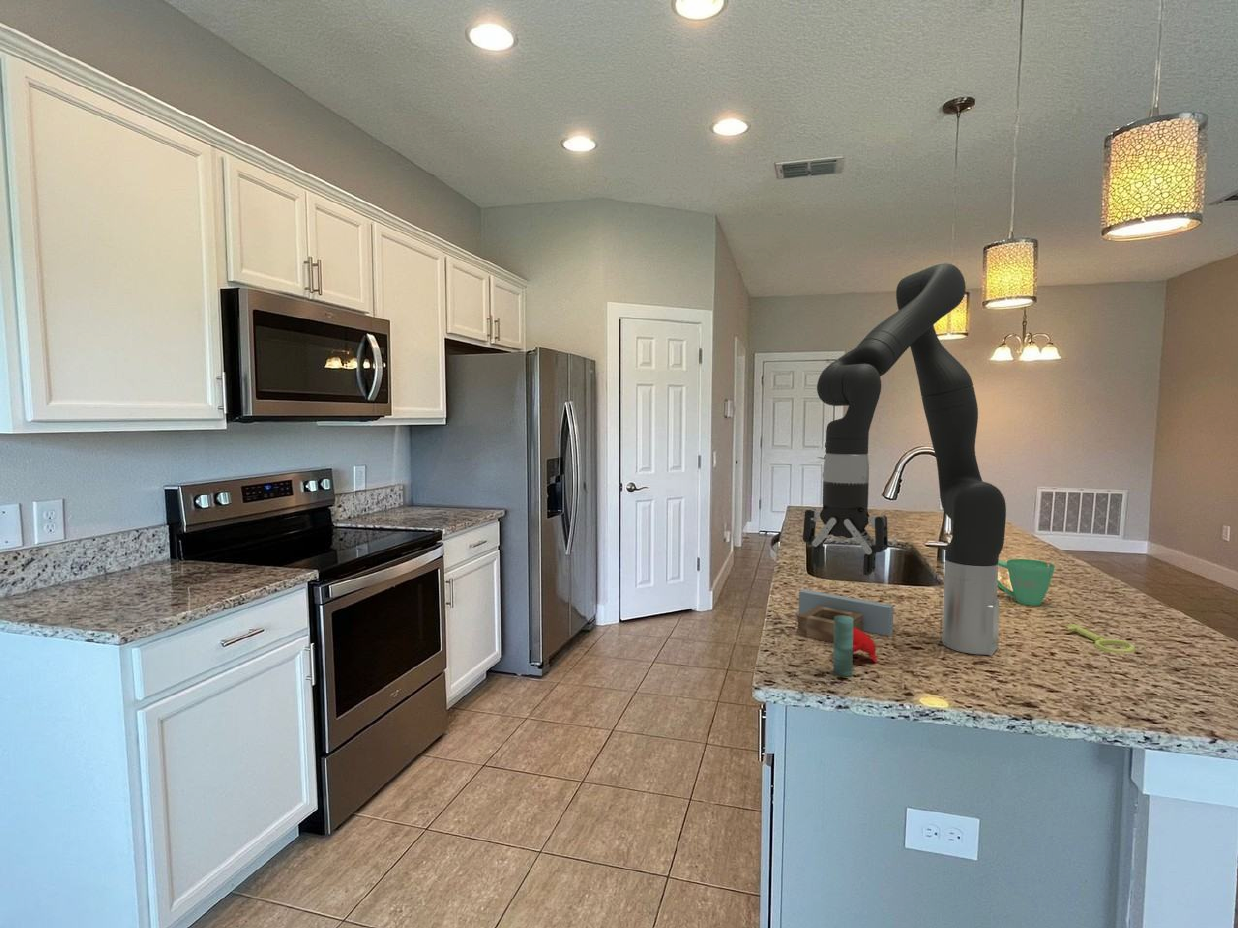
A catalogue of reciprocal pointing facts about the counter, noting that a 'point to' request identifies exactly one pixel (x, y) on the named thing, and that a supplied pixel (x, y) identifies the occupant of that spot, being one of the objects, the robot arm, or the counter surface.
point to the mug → (1027, 580)
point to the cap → (864, 643)
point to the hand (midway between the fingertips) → (842, 570)
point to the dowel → (843, 646)
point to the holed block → (824, 622)
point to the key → (1103, 641)
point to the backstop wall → (852, 609)
